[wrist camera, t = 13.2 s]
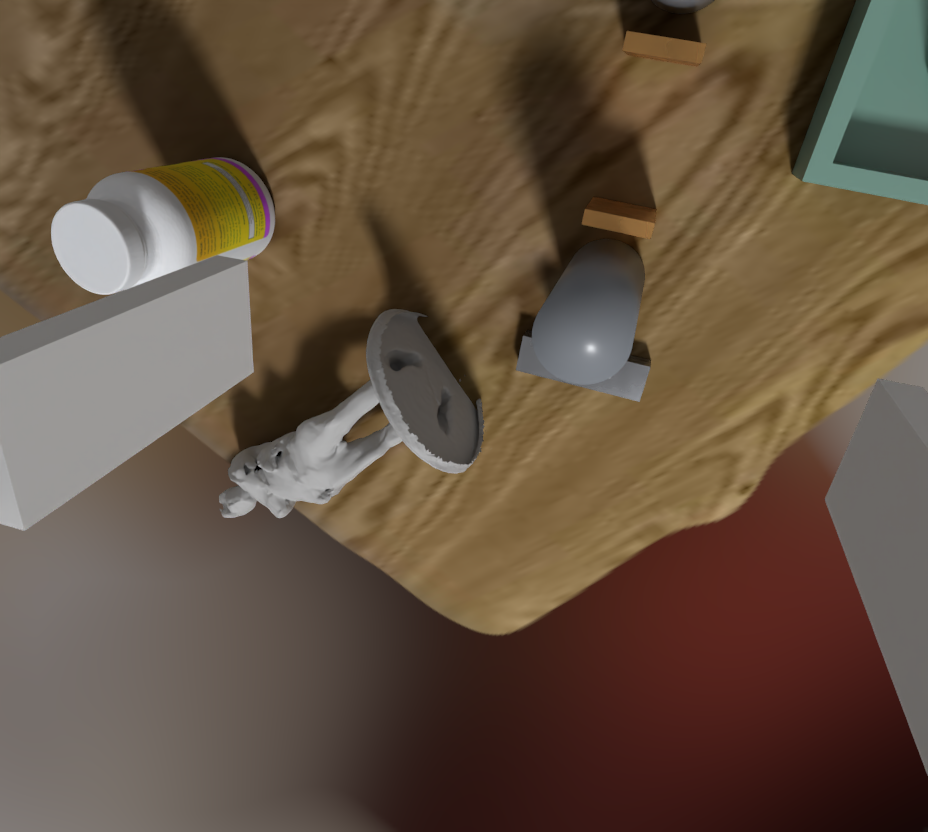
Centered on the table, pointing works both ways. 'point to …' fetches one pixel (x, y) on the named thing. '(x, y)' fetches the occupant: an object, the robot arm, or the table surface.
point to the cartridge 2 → (682, 5)
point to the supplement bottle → (162, 223)
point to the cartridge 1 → (591, 314)
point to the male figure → (337, 462)
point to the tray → (874, 106)
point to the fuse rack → (623, 224)
